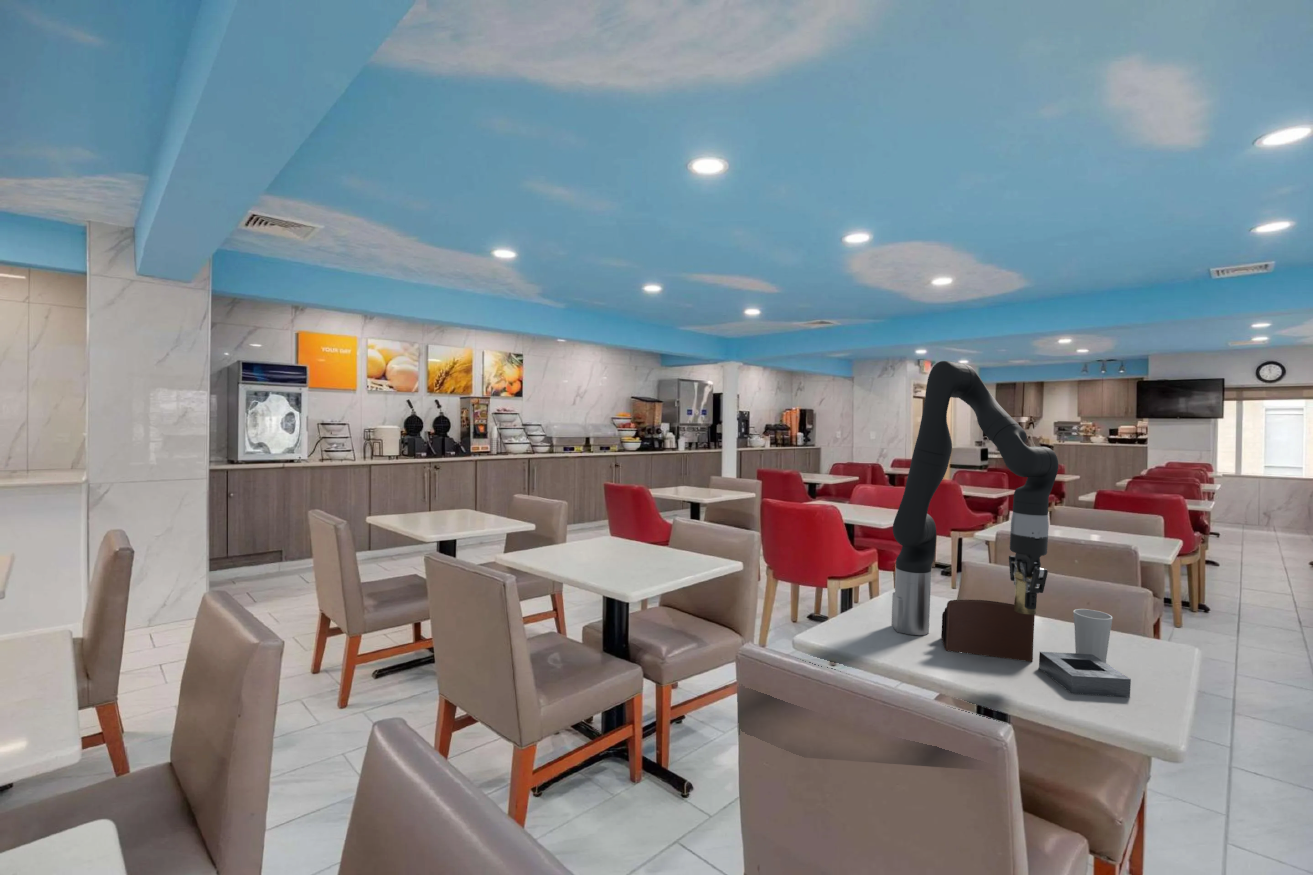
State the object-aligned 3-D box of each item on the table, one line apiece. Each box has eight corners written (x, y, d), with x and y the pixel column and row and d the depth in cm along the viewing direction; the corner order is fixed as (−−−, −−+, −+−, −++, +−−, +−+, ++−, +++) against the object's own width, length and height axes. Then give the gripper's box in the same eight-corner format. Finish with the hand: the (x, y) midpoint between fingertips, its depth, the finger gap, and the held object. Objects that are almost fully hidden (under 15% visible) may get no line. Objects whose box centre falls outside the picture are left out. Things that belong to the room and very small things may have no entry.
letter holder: (1033, 662, 155) (1035, 606, 155) (945, 651, 162) (947, 597, 161) (1023, 648, 165) (1026, 595, 164) (940, 638, 171) (942, 587, 170)
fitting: (1018, 614, 144) (1020, 575, 144) (1008, 607, 149) (1010, 570, 149) (1041, 615, 144) (1043, 576, 143) (1030, 608, 149) (1032, 571, 148)
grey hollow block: (1071, 693, 138) (1072, 675, 138) (1038, 667, 152) (1039, 651, 151) (1129, 697, 137) (1130, 678, 136) (1091, 670, 150) (1092, 654, 150)
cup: (1098, 670, 151) (1101, 621, 150) (1064, 658, 158) (1066, 611, 157) (1117, 664, 154) (1119, 616, 154) (1082, 653, 162) (1084, 607, 161)
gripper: (998, 526, 153) (994, 595, 154) (1026, 538, 139) (1022, 614, 140) (1031, 527, 152) (1027, 597, 153) (1062, 539, 138) (1058, 616, 139)
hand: (1025, 604), depth 147 cm, fingers closed on fitting, 4 cm apart
